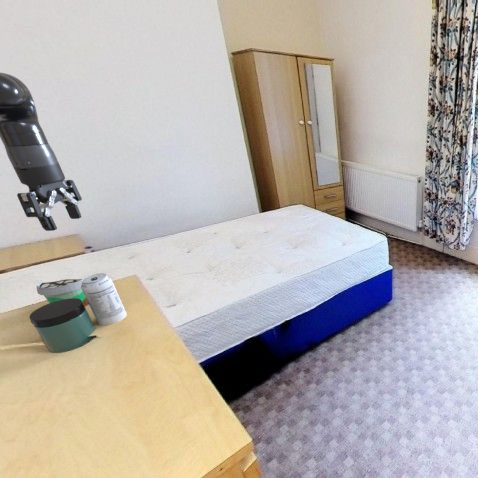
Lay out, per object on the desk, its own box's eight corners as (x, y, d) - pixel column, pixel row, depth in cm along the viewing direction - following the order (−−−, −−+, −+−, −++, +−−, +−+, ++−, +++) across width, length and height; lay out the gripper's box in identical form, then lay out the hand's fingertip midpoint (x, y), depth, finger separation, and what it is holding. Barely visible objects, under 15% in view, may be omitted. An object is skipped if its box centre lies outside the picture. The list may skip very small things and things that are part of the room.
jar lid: (21, 329, 76) (17, 322, 75) (52, 306, 84) (49, 300, 83) (67, 324, 78) (64, 317, 77) (93, 302, 86) (90, 296, 85)
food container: (38, 321, 91) (20, 292, 87) (54, 308, 96) (38, 280, 92) (91, 314, 94) (77, 286, 90) (104, 302, 99) (91, 275, 95)
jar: (37, 355, 80) (18, 324, 76) (66, 330, 88) (50, 301, 84) (81, 350, 81) (65, 320, 78) (105, 326, 90) (92, 298, 86)
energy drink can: (127, 313, 95) (108, 269, 89) (130, 323, 91) (110, 278, 85) (99, 322, 91) (77, 277, 85) (101, 333, 87) (78, 286, 81)
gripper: (41, 157, 84) (68, 215, 91) (-13, 169, 71) (23, 235, 78) (75, 157, 86) (99, 214, 92) (29, 168, 73) (60, 233, 80)
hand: (64, 224), depth 85 cm, fingers open, 8 cm apart
